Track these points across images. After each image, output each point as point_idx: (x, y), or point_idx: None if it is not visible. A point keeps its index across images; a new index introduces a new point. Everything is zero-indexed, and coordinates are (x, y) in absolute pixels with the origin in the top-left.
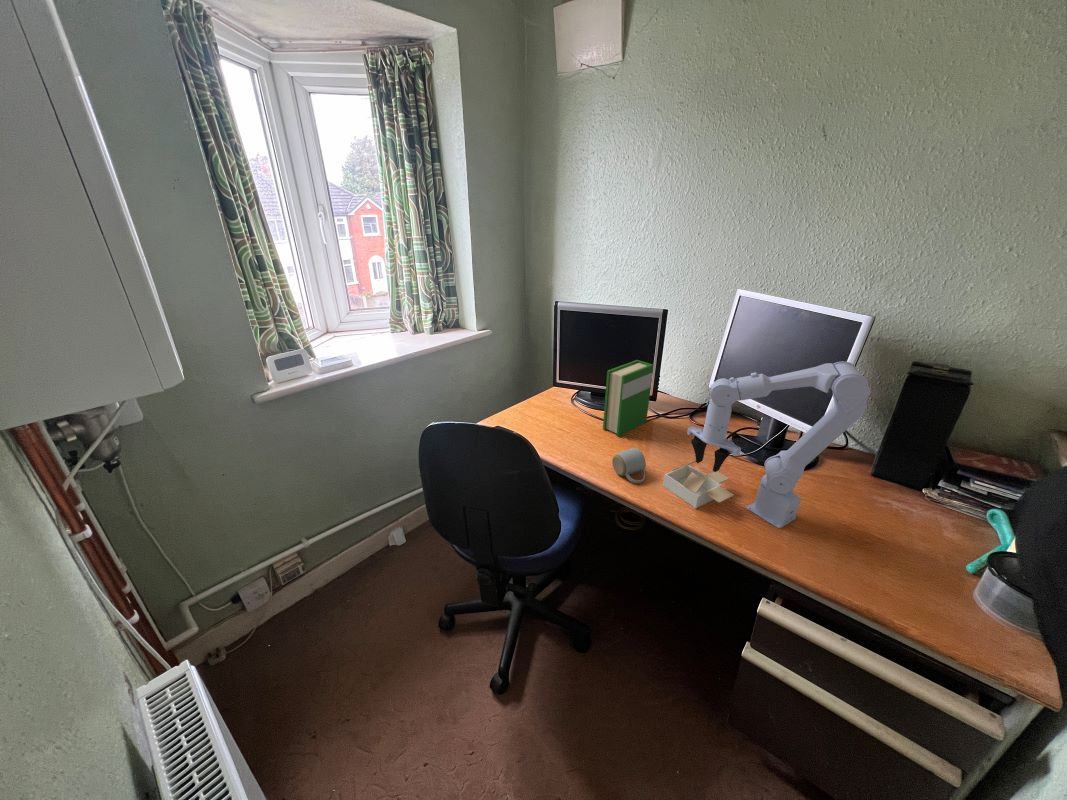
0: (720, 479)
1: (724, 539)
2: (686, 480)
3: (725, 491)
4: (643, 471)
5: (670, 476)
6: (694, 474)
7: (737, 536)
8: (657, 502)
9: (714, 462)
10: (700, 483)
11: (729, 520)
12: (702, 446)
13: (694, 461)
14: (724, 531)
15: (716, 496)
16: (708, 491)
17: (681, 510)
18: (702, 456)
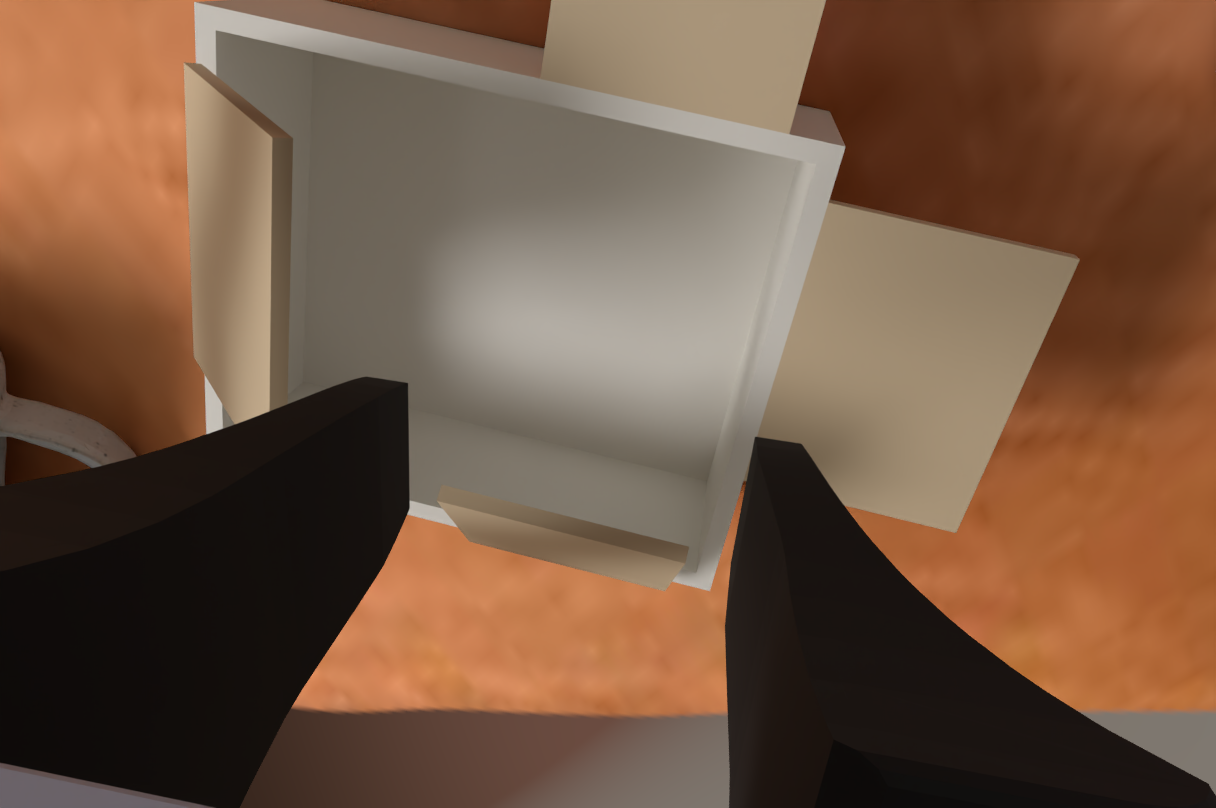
0: (769, 2)
1: (1095, 684)
2: (471, 534)
3: (948, 266)
4: (30, 439)
5: None
6: (496, 515)
7: (1198, 589)
8: (430, 619)
9: (730, 776)
10: (652, 569)
11: (1070, 430)
12: (177, 735)
13: (274, 222)
14: (1068, 600)
15: (884, 458)
16: (759, 428)
17: (634, 586)
18: (354, 450)
